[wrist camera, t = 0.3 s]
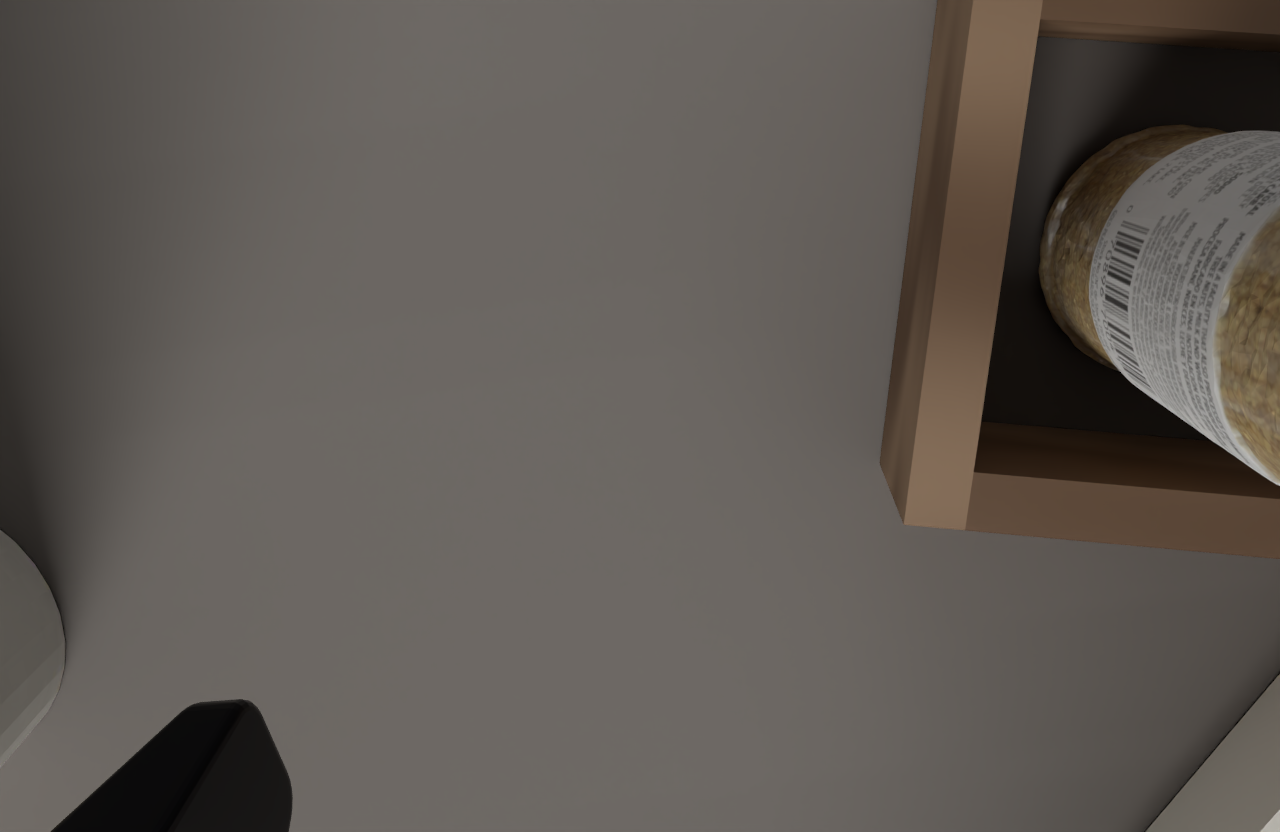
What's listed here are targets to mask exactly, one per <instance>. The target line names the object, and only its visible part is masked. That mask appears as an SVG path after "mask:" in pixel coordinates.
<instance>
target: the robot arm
mask: <svg viewBox="0 0 1280 832" xmlns="http://www.w3.org/2000/svg"><path fill="white" fill-rule="evenodd" d="M291 814H292V787H291V783H290V779H289V776H288V773H287V770H286V768H285V766H284V764H283V761H282V759H281V757H280V755H279V752H278V750H277V748H276V746H275V743H274V741H273V739H272V737H271V734H270V732H269V730H268V728H267V725H266V723H265V721H264V719H263V716H262V714H261V713H260V711H259V709H258V708H257V707H256V706H255V705H254V704H253V703H252V702H250V701H248V700H243V699H238V700H225V701H211V702H200V703H196V704H193V705H191V706H189V707H187V708H186V709H185V710H183V711H182V712H181V713H179V714H178V715H177V716H176V717H175V718H174V719H173V720H172V721H171V722H170V723H169V724H167V725H166V726H165V727H164V728H163V729H162V730H161V731H160V732H159V733H158V734H157V735H155V736H154V737H153V738H152V739H151V740H150V741H149V742H148V743H147V744H146V745H145V746H143V747H142V748H141V749H140V750H139V751H138V752H137V753H136V754H135V755H134V756H133V757H131V758H130V759H129V760H128V761H127V762H126V763H125V764H124V765H123V766H122V767H121V768H119V769H118V770H117V771H116V772H115V773H114V774H113V775H112V776H111V777H110V778H109V779H107V780H106V781H105V782H104V783H103V784H102V785H101V786H100V787H99V788H98V789H97V790H95V791H94V792H93V793H92V794H91V795H90V796H89V797H88V798H87V799H86V800H85V801H83V802H82V803H81V804H80V805H79V806H78V807H77V808H76V809H75V810H74V811H73V812H71V813H70V814H69V815H68V816H67V817H66V818H65V819H64V820H63V821H62V822H61V823H59V824H58V825H57V826H56V827H55V828H54V829H53V830H52V831H51V832H289V827H290V821H291Z"/></svg>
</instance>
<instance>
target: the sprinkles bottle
mask: <svg viewBox="0 0 1280 832" xmlns="http://www.w3.org/2000/svg"><path fill="white" fill-rule="evenodd" d="M1040 260H1041V261H1040V265H1039V277H1040V283H1041V288H1042V290H1043V293H1044V296H1045V300H1046V303H1047V306H1048V308H1049V310H1050V312H1051V315H1052V317H1053V319H1054V320H1055V322H1056V323H1057V324H1058V325H1059V326H1060V328H1061V329H1062V330H1063V332H1065V333H1066V334H1067V335H1068V336H1069V338H1070V339H1071V341H1072V343H1073V344H1074V346H1075V347H1076V348H1078V349H1079V350H1080V351H1082V352H1083V353H1084V354H1086V355H1088V356H1089V357H1091V358H1092V359H1094V360H1095V361H1097V362H1099V363H1101V364H1103V365H1105V366H1107V367H1109V368H1111V369H1114V370H1117V371H1120V372H1121V373H1122V374H1123V375H1124V376H1125V377H1126V378H1127V379H1128V380H1129V381H1130V382H1131V383H1132V384H1133V385H1135V386H1136V387H1137V388H1139V389H1140V390H1141V391H1143V392H1144V393H1145V394H1147V395H1148V396H1150V397H1151V398H1152V399H1154V400H1155V401H1157V402H1158V403H1160V404H1161V405H1162V406H1164V407H1165V408H1167V409H1168V410H1169V411H1171V412H1172V413H1174V414H1175V415H1177V416H1178V417H1179V418H1181V419H1182V420H1183V421H1185V422H1186V423H1188V424H1189V425H1191V426H1192V427H1194V428H1195V429H1196V430H1198V431H1199V432H1201V433H1202V434H1203V435H1205V436H1206V437H1207V438H1209V439H1210V440H1212V441H1213V442H1214V443H1216V444H1218V445H1219V446H1221V447H1222V448H1224V449H1225V450H1226V451H1228V452H1229V453H1231V454H1232V455H1234V456H1235V457H1236V458H1238V459H1239V460H1241V461H1242V462H1243V463H1245V464H1246V465H1248V466H1249V467H1251V468H1252V469H1254V470H1255V471H1256V472H1258V473H1259V474H1261V475H1262V476H1264V477H1265V478H1267V479H1268V480H1270V481H1272V482H1273V483H1275V484H1276V485H1279V486H1280V132H1275V131H1238V132H1232V133H1227V132H1225V131H1222V130H1218V129H1215V128H1207V127H1193V126H1189V125H1184V124H1183V125H1165V126H1157V127H1150V128H1147V129H1145V130H1142V131H1139V132H1136V133H1132V134H1129V135H1126V136H1124V137H1121V138H1118V139H1116V140H1114V141H1112V142H1111V143H1110V144H1109V145H1107V146H1106V147H1105V148H1104V149H1102V150H1100V151H1099V152H1097V153H1096V154H1094V155H1093V156H1091V157H1090V158H1089V159H1088V160H1087V161H1086V162H1085V163H1083V164H1082V166H1081V167H1080V168H1079V169H1078V170H1077V171H1076V172H1075V173H1074V174H1073V175H1072V176H1071V177H1070V178H1069V179H1068V181H1067V182H1066V184H1065V185H1064V187H1063V189H1062V190H1061V192H1060V193H1059V194H1058V196H1057V197H1056V199H1055V201H1054V203H1053V205H1052V207H1051V208H1050V210H1049V212H1048V214H1047V217H1046V221H1045V225H1044V232H1043V235H1042V238H1041V242H1040Z"/></svg>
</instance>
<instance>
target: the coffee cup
mask: <svg viewBox="0 0 1280 832" xmlns="http://www.w3.org/2000/svg"><path fill="white" fill-rule="evenodd" d="M64 667H65V637H64V632H63V627H62V621H61V616H60V613H59V610H58V608H57V605H56V603H55V600H54V598H53V595H52V592H51V590H50V588H49V586H48V585H47V583H46V581H45V580H44V578H43V577H42V575H41V573H40V572H39V570H38V568H37V567H36V565H35V564H34V563H33V561H32V560H31V559H30V558H29V557H28V556H27V555H26V554H25V552H24V551H23V550H22V549H21V548H20V547H19V546H18V544H17V543H16V542H15V541H13V540H12V539H11V538H10V537H9V536H7V535H6V534H5V533H4V532H2V531H1V530H0V768H1V767H2V765H3V764H4V763H5V762H6V761H7V760H8V758H9V757H10V756H11V755H12V754H13V753H14V751H15V750H16V749H17V748H18V747H19V745H20V744H21V743H22V742H23V741H24V740H25V738H26V737H27V736H28V735H29V734H30V732H31V731H32V730H33V729H34V728H35V727H36V725H37V724H38V723H39V722H40V721H41V719H42V718H43V717H44V716H45V715H46V714H47V712H48V711H49V709H50V707H51V705H52V703H53V701H54V699H55V697H56V695H57V693H58V691H59V688H60V684H61V680H62V676H63V671H64Z"/></svg>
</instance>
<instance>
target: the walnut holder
mask: <svg viewBox="0 0 1280 832" xmlns="http://www.w3.org/2000/svg"><path fill="white" fill-rule="evenodd" d="M1038 36H1041V37H1056V38H1071V39H1086V40H1102V41H1117V42H1132V43H1147V44H1162V45H1178V46H1193V47H1208V48H1223V49H1238V50H1254V51H1269V52H1280V0H938V1H937V9H936V17H935V25H934V33H933V41H932V49H931V57H930V65H929V73H928V81H927V89H926V97H925V105H924V113H923V121H922V129H921V137H920V145H919V153H918V161H917V169H916V177H915V185H914V193H913V201H912V209H911V217H910V225H909V233H908V241H907V249H906V257H905V265H904V273H903V281H902V289H901V297H900V305H899V313H898V321H897V329H896V337H895V345H894V353H893V360H892V368H891V376H890V384H889V392H888V400H887V408H886V416H885V424H884V432H883V440H882V448H881V456H880V465H881V468H882V471H883V473H884V476H885V478H886V481H887V483H888V486H889V488H890V491H891V494H892V496H893V499H894V501H895V504H896V506H897V509H898V511H899V514H900V517H901V519H902V522H903V524H904V525H913V526H924V527H935V528H946V529H957V530H968V531H979V532H989V533H1000V534H1011V535H1022V536H1033V537H1044V538H1055V539H1066V540H1077V541H1088V542H1099V543H1110V544H1121V545H1132V546H1143V547H1154V548H1165V549H1176V550H1187V551H1198V552H1209V553H1220V554H1231V555H1242V556H1253V557H1264V558H1275V559H1280V486H1279V485H1276V484H1275V483H1273V482H1272V481H1270V480H1268V479H1267V478H1265V477H1264V476H1262V475H1261V474H1259V473H1258V472H1256V471H1255V470H1254V469H1252V468H1251V467H1249V466H1248V465H1246V464H1245V463H1243V462H1242V461H1241V460H1239V459H1238V458H1236V457H1235V456H1234V455H1232V454H1231V453H1229V452H1228V451H1226V450H1225V449H1224V448H1222V447H1221V446H1219V445H1218V444H1216V443H1214V442H1213V441H1204V440H1192V439H1180V438H1169V437H1157V436H1145V435H1134V434H1122V433H1110V432H1099V431H1087V430H1075V429H1064V428H1052V427H1040V426H1028V425H1017V424H1005V423H993V422H982V421H981V418H982V411H983V405H984V398H985V391H986V384H987V377H988V371H989V364H990V357H991V350H992V343H993V337H994V330H995V323H996V316H997V309H998V303H999V296H1000V289H1001V282H1002V275H1003V269H1004V262H1005V255H1006V248H1007V241H1008V234H1009V228H1010V221H1011V214H1012V207H1013V200H1014V194H1015V187H1016V180H1017V173H1018V166H1019V160H1020V153H1021V146H1022V139H1023V132H1024V126H1025V119H1026V112H1027V105H1028V98H1029V92H1030V85H1031V78H1032V71H1033V64H1034V57H1035V51H1036V44H1037V37H1038Z"/></svg>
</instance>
